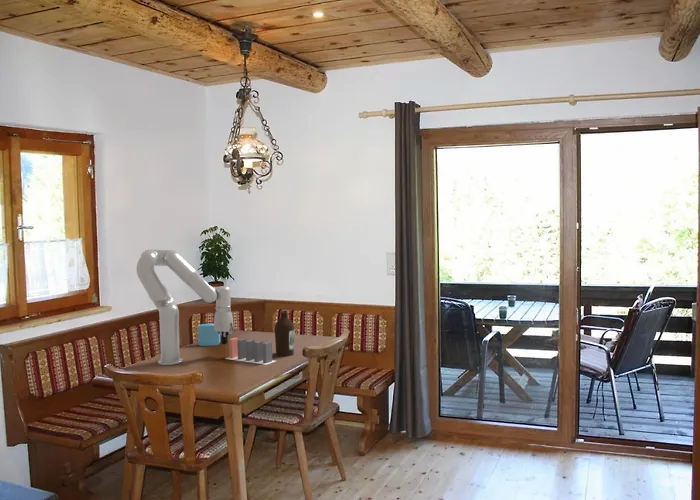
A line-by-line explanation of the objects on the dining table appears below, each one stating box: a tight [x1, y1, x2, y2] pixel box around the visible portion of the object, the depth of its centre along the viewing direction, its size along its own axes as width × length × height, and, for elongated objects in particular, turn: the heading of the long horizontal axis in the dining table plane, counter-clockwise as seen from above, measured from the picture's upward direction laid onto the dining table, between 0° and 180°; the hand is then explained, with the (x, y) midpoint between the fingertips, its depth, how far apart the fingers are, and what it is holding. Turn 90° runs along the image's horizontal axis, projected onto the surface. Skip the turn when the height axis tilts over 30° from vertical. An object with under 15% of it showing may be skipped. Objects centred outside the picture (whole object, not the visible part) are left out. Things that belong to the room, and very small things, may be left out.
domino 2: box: [246, 339, 256, 361], centre depth 337 cm, size 2×5×10 cm, turn 150°
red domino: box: [228, 337, 239, 358], centre depth 342 cm, size 2×5×10 cm, turn 150°
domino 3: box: [254, 340, 264, 362], centre depth 334 cm, size 2×5×10 cm, turn 150°
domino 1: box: [237, 338, 248, 360], centre depth 340 cm, size 2×5×10 cm, turn 151°
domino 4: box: [263, 341, 273, 363], centre depth 331 cm, size 2×5×10 cm, turn 150°
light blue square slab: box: [197, 323, 221, 347], centre depth 377 cm, size 12×4×12 cm, turn 96°
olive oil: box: [274, 309, 296, 357], centre depth 347 cm, size 11×11×25 cm
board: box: [224, 356, 276, 366], centre depth 337 cm, size 27×9×1 cm, turn 60°
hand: (224, 343), depth 345 cm, fingers closed
